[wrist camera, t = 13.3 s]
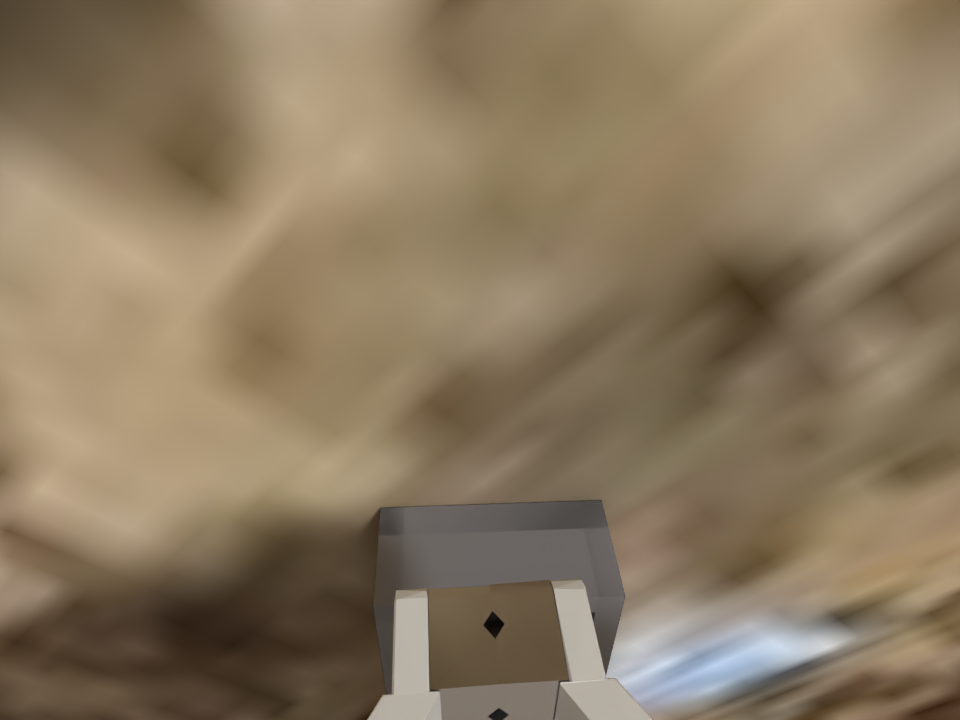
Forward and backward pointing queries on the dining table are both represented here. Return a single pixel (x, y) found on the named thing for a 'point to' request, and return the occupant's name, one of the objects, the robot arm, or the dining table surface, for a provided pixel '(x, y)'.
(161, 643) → the dining table surface
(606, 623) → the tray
